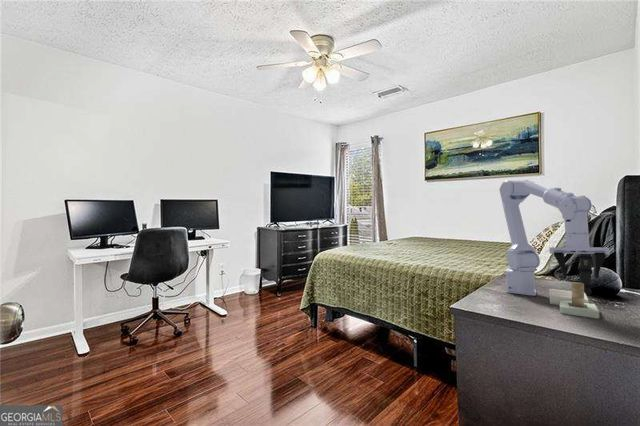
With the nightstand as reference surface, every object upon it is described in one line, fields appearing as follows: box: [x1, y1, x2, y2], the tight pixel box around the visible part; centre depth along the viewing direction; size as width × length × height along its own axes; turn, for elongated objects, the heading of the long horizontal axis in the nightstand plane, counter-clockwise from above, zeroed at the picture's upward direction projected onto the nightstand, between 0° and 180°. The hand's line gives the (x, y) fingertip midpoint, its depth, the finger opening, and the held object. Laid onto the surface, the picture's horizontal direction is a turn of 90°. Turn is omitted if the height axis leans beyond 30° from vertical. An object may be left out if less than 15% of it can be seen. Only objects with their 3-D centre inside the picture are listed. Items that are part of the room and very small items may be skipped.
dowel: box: [571, 281, 584, 308], centre depth 97 cm, size 3×3×9 cm
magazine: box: [578, 254, 594, 295], centre depth 121 cm, size 4×13×15 cm, turn 137°
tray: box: [548, 288, 589, 306], centre depth 107 cm, size 10×10×3 cm
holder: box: [558, 300, 600, 320], centre depth 97 cm, size 9×9×2 cm
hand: (580, 276), depth 97 cm, fingers open, 7 cm apart
